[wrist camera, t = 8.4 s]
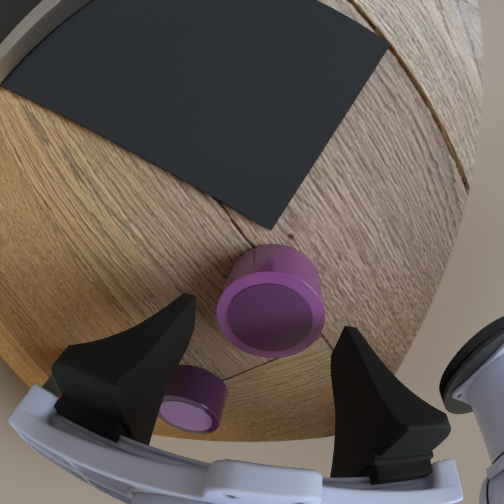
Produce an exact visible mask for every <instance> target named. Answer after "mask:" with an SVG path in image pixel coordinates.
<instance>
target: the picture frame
mask: <svg viewBox="0 0 504 504" xmlns="http://www.w3.org/2000/svg"><path fill="white" fill-rule="evenodd" d="M90 1H91V0H0V84H1V82H2V81H3V80H4V79H5V78H6V77H7V75H8V74H9V73H10V72H11V71H12V70H13V69H14V68H15V67H16V65H17V64H18V63H19V62H20V61H21V60H22V59H23V58H24V57H25V56H26V55H27V54H28V53H29V52H30V51H31V50H32V49H33V48H34V47H35V46H36V45H37V44H38V43H39V42H40V41H41V40H43V39H44V38H45V37H46V36H47V35H48V34H49V33H50V32H51V31H53V30H54V29H55V28H56V27H57V26H58V25H60V24H61V23H62V22H63V21H65V20H66V19H67V18H68V17H70V16H71V15H72V14H73V13H75V12H76V11H77V10H79V9H80V8H81V7H83V6H84V5H86V4H87V3H88V2H90Z"/></svg>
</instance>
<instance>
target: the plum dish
mask: <svg viewBox="0 0 504 504" xmlns="http://www.w3.org/2000/svg"><path fill="white" fill-rule="evenodd" d="M216 316H217V322H218V325H219V327H220V329H221V331H222V333H223V334H224V336H225V337H226V338H227V339H228V340H229V341H230V342H231V343H232V344H233V345H234V346H236V347H237V348H239V349H240V350H242V351H244V352H246V353H249V354H251V355H255V356H259V357H265V358H282V357H287V356H291V355H294V354H297V353H299V352H301V351H303V350H305V349H306V348H308V347H309V346H310V345H311V344H312V343H314V341H315V340H316V339H317V338H318V336H319V335H320V333H321V331H322V329H323V326H324V321H325V311H324V304H323V297H322V290H321V284H320V278H319V274H318V272H317V269H316V268H315V266H314V264H313V263H312V262H311V261H310V259H308V258H307V257H306V256H305V255H304V254H302V253H301V252H299V251H297V250H296V249H293V248H291V247H288V246H283V245H276V244H272V245H262V246H258V247H255V248H253V249H250V250H249V251H247V252H245V253H244V254H243V255H241V256H240V257H239V258H238V259H237V260H236V262H235V263H234V265H233V266H232V268H231V271H230V273H229V275H228V278H227V280H226V283H225V285H224V288H223V290H222V292H221V295H220V297H219V300H218V303H217V308H216Z"/></svg>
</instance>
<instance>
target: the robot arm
mask: <svg viewBox="0 0 504 504" xmlns="http://www.w3.org/2000/svg"><path fill="white" fill-rule="evenodd" d="M195 308H196V296H193V295H189V294H185V293H184V294H182V295H181V296H179V297H178V298H177V299H176V300H174V301H173V302H172V303H170V304H169V305H168V306H166V307H165V308H163V309H162V310H160V311H159V312H158V313H156V314H155V315H153V316H152V317H150V318H148V319H147V320H145V321H143V322H142V323H140V324H138V325H136V326H134V327H132V328H130V329H128V330H126V331H123V332H121V333H118V334H115V335H113V336H110V337H107V338H104V339H100V340H96V341H93V342H88V343H82V344H76V345H69V346H68V347H67V348H66V349H65V350H64V351H63V353H62V354H61V355H60V356H59V358H58V359H57V360H56V361H55V363H54V364H53V366H52V373H53V376H54V379H55V381H56V383H57V385H58V387H59V389H60V391H61V393H62V395H61V396H60V398H59V399H58V398H57V397H56V396H55V395H54V394H52V393H51V392H49V391H47V390H46V389H44V388H42V387H41V386H39V385H37V384H34V385H33V386H32V387H31V389H30V390H29V391H28V393H27V394H26V395H25V397H24V398H23V399H22V401H21V402H20V403H19V405H18V406H17V408H16V409H15V411H14V412H13V413H12V415H11V416H10V418H9V419H8V422H9V423H10V425H11V426H12V427H13V428H14V429H15V431H16V432H17V433H18V434H19V435H20V436H21V437H22V438H23V440H24V441H25V442H26V443H27V444H28V445H29V446H30V447H31V448H32V449H33V450H35V451H36V452H38V453H39V454H41V455H42V456H44V457H45V458H47V459H48V460H50V461H51V462H53V463H54V464H56V465H57V466H59V467H60V468H62V469H64V470H65V471H67V472H69V473H70V474H72V475H74V476H75V477H77V478H78V479H80V480H82V481H84V482H85V483H87V484H89V485H91V486H93V487H94V488H96V489H98V490H100V491H102V492H104V493H106V494H108V495H110V496H112V497H114V498H116V499H118V500H121V501H123V502H125V503H127V504H456V503H457V502H459V501H461V500H462V499H463V494H462V489H461V485H460V480H459V476H458V472H457V468H456V464H455V460H454V459H453V458H452V459H447V460H442V461H438V462H435V463H433V464H431V461H430V459H431V458H433V452H432V450H433V449H435V448H436V447H437V446H438V445H439V444H440V443H441V442H443V441H444V440H445V439H446V438H447V437H448V435H449V433H450V431H451V427H450V424H449V421H448V418H447V415H446V414H445V413H443V412H442V411H440V410H438V409H436V408H434V407H433V406H431V405H429V404H428V403H426V402H425V401H423V400H422V399H420V398H419V397H418V396H416V395H415V394H414V393H412V392H411V391H410V390H409V389H408V388H407V387H405V386H404V385H403V384H402V383H401V382H400V381H399V380H398V379H397V378H396V377H395V376H394V375H393V374H392V373H391V372H390V371H389V369H388V368H387V367H386V366H385V365H384V364H383V362H382V361H381V360H380V359H379V357H378V356H377V355H376V354H375V352H374V351H373V350H372V348H371V347H370V345H369V344H368V343H367V341H366V340H365V339H364V337H363V336H362V334H361V333H360V332H359V330H358V329H357V328H355V327H349V326H344V329H343V331H342V333H341V335H340V338H339V340H338V342H337V344H336V346H335V348H334V350H333V352H332V355H331V379H332V388H333V396H334V405H335V442H334V454H333V462H332V469H331V475H330V478H322V475H321V474H320V473H318V472H316V471H314V470H309V469H303V468H291V467H280V466H272V465H264V464H257V463H250V462H244V461H237V460H217V461H214V462H212V463H211V464H210V463H206V462H202V461H198V460H194V459H190V458H187V457H182V456H180V455H176V454H173V453H170V452H166V451H163V450H160V449H157V448H154V447H151V446H149V443H150V439H151V436H152V432H153V429H154V426H155V422H156V419H157V416H158V413H159V410H160V407H161V404H162V401H163V398H164V396H165V393H166V390H167V387H168V385H169V383H170V380H171V378H172V376H173V374H174V372H175V370H176V368H177V366H178V365H179V363H180V361H181V359H182V357H183V355H184V353H185V351H186V349H187V347H188V344H189V342H190V339H191V336H192V333H193V330H194V323H195ZM452 397H453V398H454V399H457V400H459V401H462V402H464V403H467V404H469V405H471V407H472V410H473V412H474V415H475V417H476V420H477V422H478V425H479V427H480V430H481V433H482V435H483V438H484V441H485V444H486V447H487V450H488V453H489V456H490V459H491V463H492V465H491V466H490V467H489V468H487V469H486V471H487V475H488V476H487V477H486V478H485V480H484V482H483V484H482V488H481V491H480V497H479V504H504V343H503V344H502V345H501V346H500V347H499V348H498V349H497V350H496V351H495V352H494V353H493V354H492V355H491V357H490V358H489V359H488V360H487V361H486V362H485V363H484V364H483V365H482V366H481V367H480V368H479V369H478V370H476V371H475V372H474V373H473V374H472V375H471V376H470V377H469V378H468V379H467V380H466V381H465V382H464V383H462V384H461V385H460V386H459V387H458V388H457V389H456V390H454V391H453V392H452Z"/></svg>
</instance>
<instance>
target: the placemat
mask: <svg viewBox="0 0 504 504" xmlns="http://www.w3.org/2000/svg"><path fill="white" fill-rule="evenodd" d="M389 46H390V43H388V42H387V41H385V40H384V39H382V38H381V37H379V36H378V35H376V34H375V33H373V32H372V31H370V30H369V29H367V28H366V27H364V26H362V25H361V24H359V23H358V22H356V21H354V20H352V19H351V18H349V17H347V16H346V15H344V14H342V13H340V12H338V11H337V10H335V9H333V8H331V7H329V6H327V5H325V4H323V3H321V2H319V1H317V0H91V1H90V2H88V3H87V4H86V5H84V6H83V7H81V8H80V9H79V10H77V11H76V12H75V13H73V14H72V15H71V16H70V17H68V18H67V19H66V20H65V21H63V22H62V23H61V24H60V25H58V26H57V27H56V28H55V29H54V30H53V31H51V32H50V33H49V34H48V35H47V36H46V37H45V38H44V39H43V40H41V41H40V42H39V43H38V44H37V45H36V46H35V47H34V48H33V49H32V50H31V51H30V52H29V53H28V54H27V55H26V56H25V57H24V58H23V59H22V60H21V61H20V62H19V63H18V64H17V65H16V67H15V68H14V69H13V70H12V71H11V72H10V73H9V74H8V75H7V77H6V78H5V79H4V80H3V81H2V82H1V84H0V86H2V87H4V88H6V89H8V90H10V91H12V92H14V93H17V94H19V95H21V96H23V97H25V98H27V99H29V100H31V101H33V102H35V103H37V104H39V105H41V106H43V107H45V108H48V109H50V110H52V111H54V112H56V113H58V114H60V115H62V116H64V117H66V118H68V119H70V120H71V121H73V122H75V123H77V124H79V125H81V126H83V127H85V128H87V129H89V130H91V131H93V132H95V133H97V134H99V135H101V136H103V137H104V138H106V139H108V140H110V141H112V142H114V143H116V144H118V145H120V146H122V147H123V148H125V149H127V150H129V151H131V152H133V153H135V154H137V155H138V156H140V157H142V158H144V159H146V160H148V161H149V162H151V163H153V164H155V165H157V166H159V167H160V168H162V169H164V170H166V171H168V172H170V173H171V174H173V175H175V176H177V177H179V178H180V179H182V180H184V181H186V182H188V183H189V184H191V185H193V186H195V187H197V188H198V189H200V190H202V191H204V192H205V193H207V194H209V195H211V196H212V197H214V198H216V199H218V200H219V201H221V202H223V203H225V204H226V205H228V206H230V207H232V208H233V209H235V210H237V211H239V212H240V213H242V214H244V215H245V216H247V217H249V218H251V219H252V220H254V221H256V222H257V223H259V224H261V225H263V226H264V227H266V228H268V229H269V230H272V228H273V227H274V225H275V224H276V222H277V220H278V219H279V217H280V216H281V214H282V213H283V211H284V210H285V208H286V207H287V205H288V203H289V202H290V200H291V199H292V197H293V196H294V194H295V193H296V191H297V190H298V188H299V186H300V185H301V183H302V182H303V180H304V179H305V177H306V176H307V174H308V172H309V171H310V169H311V168H312V166H313V165H314V163H315V162H316V160H317V159H318V157H319V155H320V154H321V152H322V151H323V149H324V148H325V146H326V145H327V143H328V141H329V140H330V138H331V137H332V135H333V134H334V132H335V131H336V129H337V127H338V126H339V124H340V123H341V121H342V120H343V118H344V116H345V115H346V113H347V112H348V110H349V109H350V107H351V106H352V104H353V102H354V101H355V99H356V98H357V96H358V95H359V93H360V91H361V90H362V88H363V87H364V85H365V84H366V82H367V81H368V79H369V77H370V76H371V74H372V73H373V71H374V70H375V68H376V66H377V65H378V63H379V62H380V60H381V59H382V57H383V55H384V54H385V52H386V51H387V49H388V48H389Z"/></svg>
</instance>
